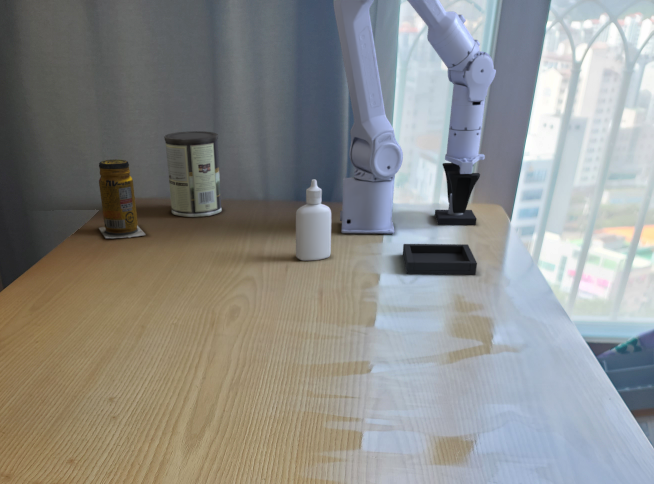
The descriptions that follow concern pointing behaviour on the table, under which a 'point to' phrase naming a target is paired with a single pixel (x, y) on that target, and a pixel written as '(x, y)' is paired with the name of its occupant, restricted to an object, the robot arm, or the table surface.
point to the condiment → (118, 200)
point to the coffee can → (193, 173)
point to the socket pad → (439, 259)
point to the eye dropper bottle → (313, 227)
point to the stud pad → (454, 216)
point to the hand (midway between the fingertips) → (456, 207)
